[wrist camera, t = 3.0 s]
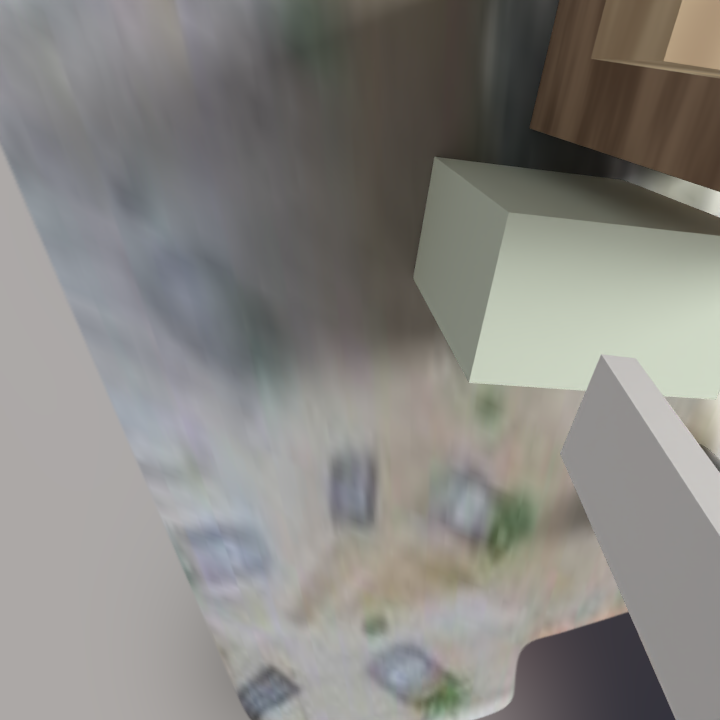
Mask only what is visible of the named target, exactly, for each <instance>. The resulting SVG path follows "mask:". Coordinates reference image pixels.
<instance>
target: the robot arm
mask: <svg viewBox="0 0 720 720" xmlns="http://www.w3.org/2000/svg"><path fill="white" fill-rule="evenodd" d="M560 455H561V457H562V459H563V461H564V464H565V466H566V468H567V471H568V473H569V475H570V478H571V480H572V482H573V484H574V487H575V489H576V491H577V494H578V496H579V498H580V501H581V503H582V505H583V507H584V510H585V512H586V514H587V517H588V519H589V521H590V524H591V526H592V528H593V530H594V533H595V535H596V537H597V540H598V542H599V544H600V547H601V549H602V551H603V553H604V556H605V558H606V560H607V563H608V565H609V567H610V570H611V572H612V574H613V576H614V579H615V581H616V583H617V586H618V588H619V590H620V593H621V595H622V597H623V599H624V602H625V604H626V606H627V609H628V611H629V613H630V615H631V618H632V620H633V622H634V625H635V627H636V629H637V631H638V634H639V636H640V639H641V641H642V643H643V645H644V648H645V650H646V652H647V655H648V657H649V659H650V662H651V664H652V666H653V668H654V671H655V673H656V675H657V678H658V680H659V682H660V685H661V687H662V689H663V691H664V694H665V696H666V698H667V700H668V703H669V705H670V707H671V710H672V712H673V714H674V717H675V719H676V720H720V472H719V471H718V470H717V468H716V467H715V466H714V464H713V463H712V462H711V460H710V459H709V457H708V456H707V455H706V453H705V452H704V451H703V449H702V448H701V447H700V445H699V444H698V442H697V441H696V440H695V438H694V437H693V436H692V434H691V433H690V432H689V430H688V429H687V427H686V426H685V425H684V423H683V422H682V421H681V419H680V418H679V417H678V415H677V414H676V412H675V411H674V410H673V408H672V407H671V406H670V404H669V403H668V402H667V400H666V399H665V397H664V396H663V395H662V393H661V392H660V391H659V389H658V388H657V387H656V385H655V384H654V382H653V381H652V380H651V378H650V377H649V376H648V374H647V373H646V372H645V370H644V369H643V368H642V366H641V365H640V363H639V362H638V361H637V359H636V358H629V357H620V356H612V355H603V354H601V356H600V358H599V361H598V363H597V366H596V368H595V370H594V373H593V375H592V378H591V380H590V383H589V385H588V387H587V390H586V392H585V395H584V397H583V400H582V402H581V404H580V407H579V409H578V412H577V414H576V416H575V419H574V421H573V424H572V426H571V429H570V431H569V433H568V436H567V438H566V441H565V443H564V446H563V448H562V450H561V453H560Z"/></svg>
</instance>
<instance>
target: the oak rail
mask: <svg viewBox="0 0 720 720" xmlns="http://www.w3.org/2000/svg"><path fill="white" fill-rule="evenodd" d="M591 59H596V60H603V61H609V62H616V63H622V64H629V65H635V66H642V67H648V68H655V69H661V70H668V71H675V72H681V73H688V74H694V75H701V76H707V77H714V78H720V0H606V3H605V7H604V10H603V14H602V18H601V22H600V26H599V29H598V33H597V37H596V41H595V45H594V48H593V52H592V56H591Z"/></svg>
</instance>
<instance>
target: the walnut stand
mask: <svg viewBox="0 0 720 720" xmlns="http://www.w3.org/2000/svg"><path fill="white" fill-rule="evenodd" d="M605 3H606V0H559V4H558V8H557V13H556V17H555V21H554V25H553V30H552V34H551V38H550V42H549V47H548V51H547V55H546V59H545V64H544V68H543V72H542V77H541V81H540V85H539V89H538V94H537V98H536V102H535V106H534V111H533V115H532V119H531V123H530V129H533V130H536V131H539V132H542V133H545V134H548V135H551V136H554V137H557V138H560V139H563V140H566V141H569V142H572V143H575V144H578V145H581V146H584V147H587V148H590V149H593V150H596V151H599V152H602V153H605V154H608V155H611V156H614V157H617V158H620V159H623V160H626V161H629V162H632V163H635V164H638V165H641V166H644V167H647V168H650V169H653V170H656V171H659V172H662V173H665V174H668V175H671V176H674V177H677V178H680V179H683V180H686V181H689V182H692V183H695V184H698V185H701V186H704V187H707V188H710V189H713V190H716V191H719V192H720V78H714V77H707V76H701V75H694V74H688V73H681V72H675V71H668V70H661V69H655V68H648V67H642V66H635V65H629V64H622V63H616V62H609V61H603V60H596V59H591V56H592V52H593V48H594V45H595V41H596V37H597V33H598V29H599V26H600V22H601V18H602V14H603V10H604V7H605Z"/></svg>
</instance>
